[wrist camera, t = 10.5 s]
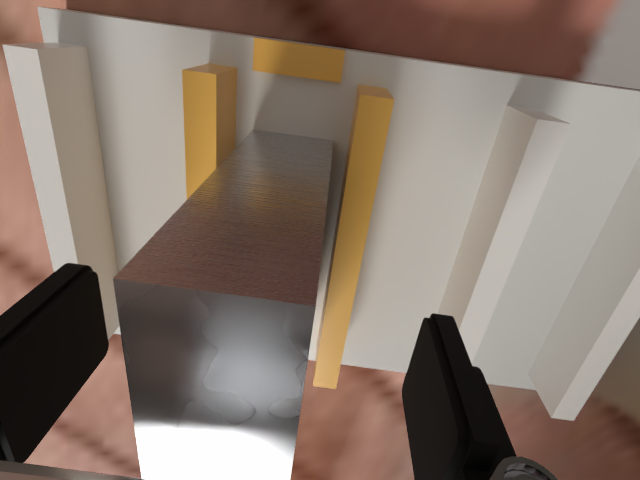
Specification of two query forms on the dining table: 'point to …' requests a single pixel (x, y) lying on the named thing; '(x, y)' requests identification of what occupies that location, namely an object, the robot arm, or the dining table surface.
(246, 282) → the panel
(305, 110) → the rack
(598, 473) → the dining table surface
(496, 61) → the dining table surface
